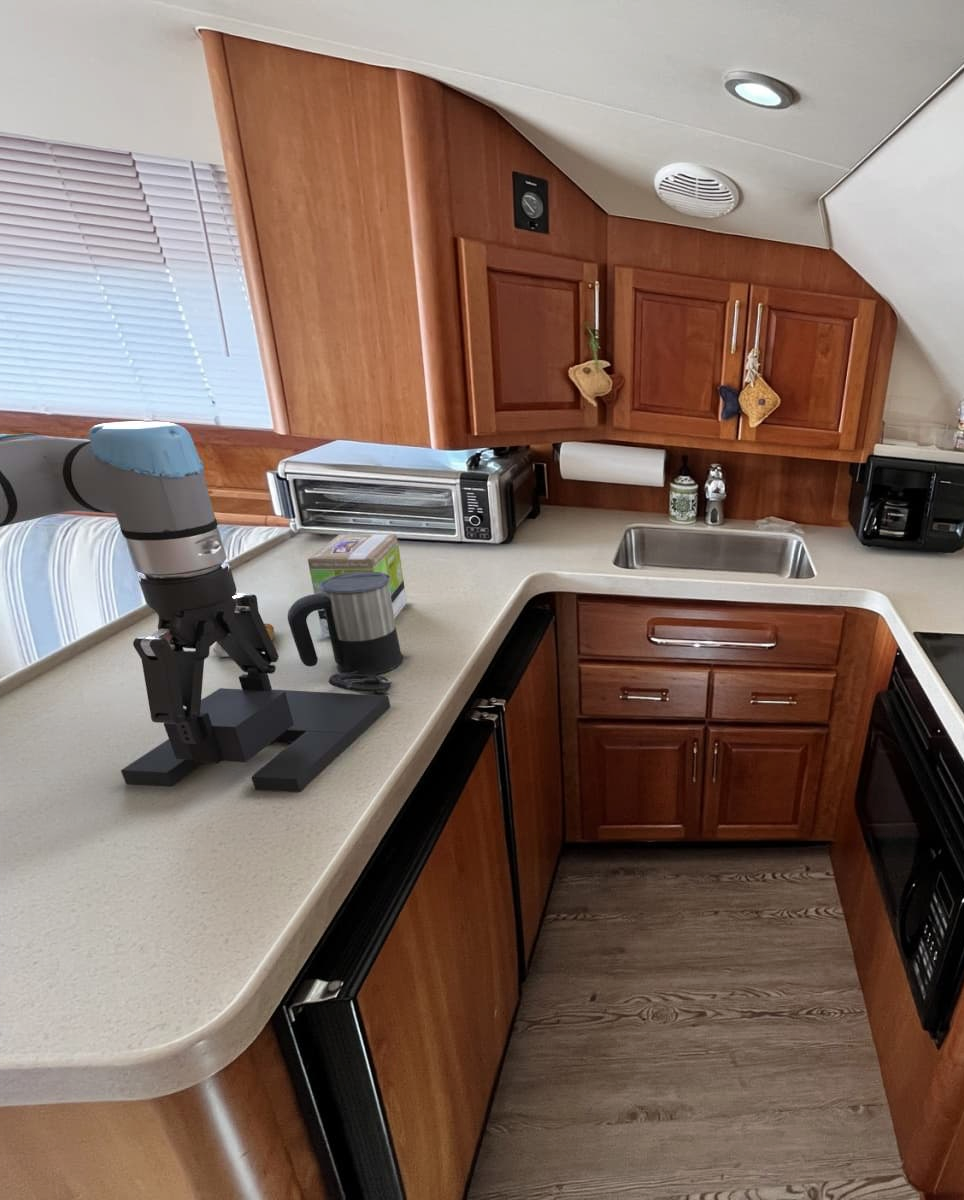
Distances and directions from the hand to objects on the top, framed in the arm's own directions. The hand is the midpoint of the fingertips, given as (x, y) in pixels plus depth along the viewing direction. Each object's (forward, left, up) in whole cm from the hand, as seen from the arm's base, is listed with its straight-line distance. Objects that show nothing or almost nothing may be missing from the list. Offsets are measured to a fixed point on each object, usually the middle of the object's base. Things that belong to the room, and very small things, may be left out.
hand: (238, 739), depth 79 cm
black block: (0, 0, 0) cm, 0 cm away
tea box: (-10, +43, -4) cm, 44 cm away
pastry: (-22, +30, -4) cm, 37 cm away
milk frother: (+2, +23, -4) cm, 23 cm away
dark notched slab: (0, +5, -4) cm, 6 cm away
